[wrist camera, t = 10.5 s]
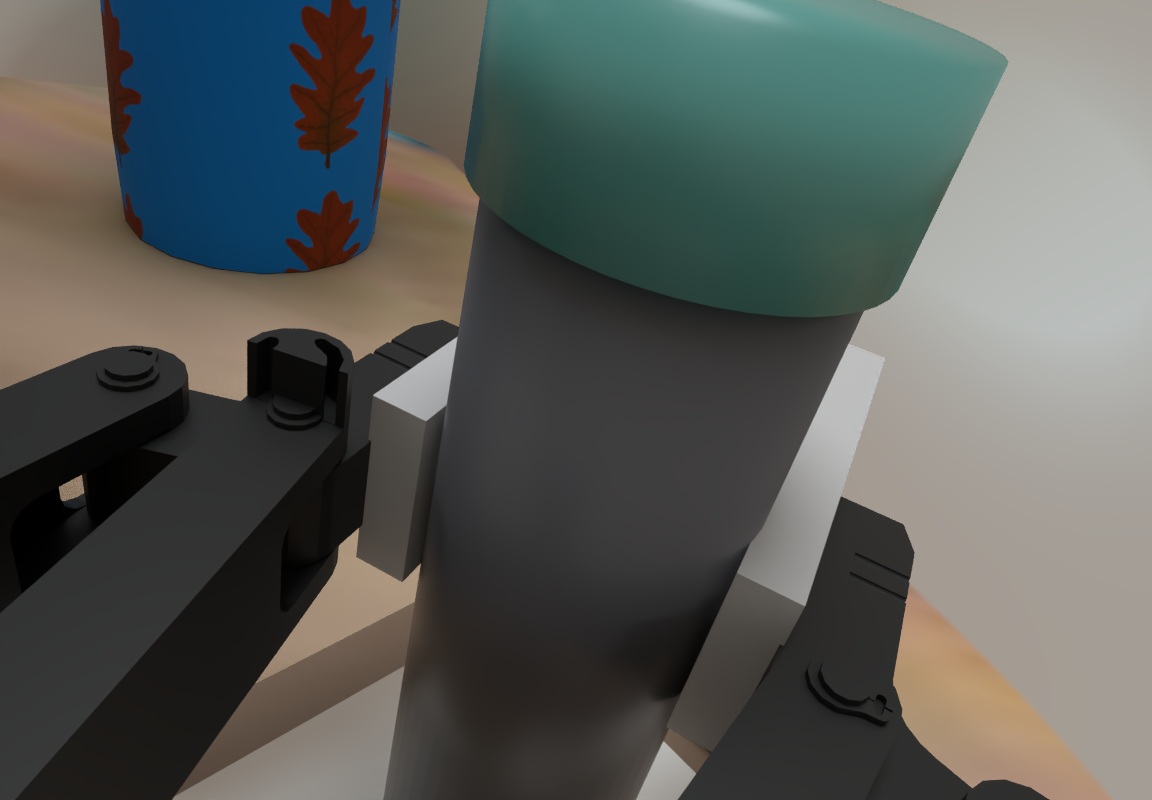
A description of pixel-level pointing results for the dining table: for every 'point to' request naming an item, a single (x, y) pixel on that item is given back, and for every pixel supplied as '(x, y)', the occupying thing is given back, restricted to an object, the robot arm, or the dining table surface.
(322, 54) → the thermos
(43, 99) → the dining table surface
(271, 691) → the brown picture frame
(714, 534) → the marker
